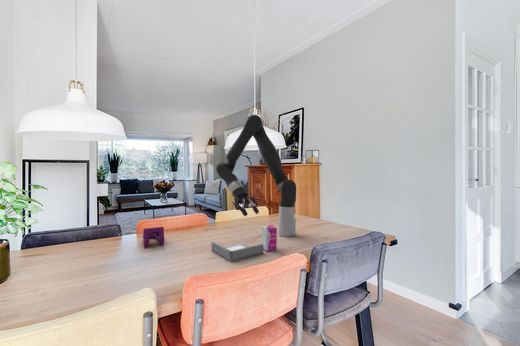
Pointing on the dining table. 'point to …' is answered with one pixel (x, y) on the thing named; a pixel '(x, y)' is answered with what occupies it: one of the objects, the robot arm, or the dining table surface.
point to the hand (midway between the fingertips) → (252, 214)
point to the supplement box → (269, 238)
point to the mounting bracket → (153, 235)
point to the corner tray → (236, 251)
